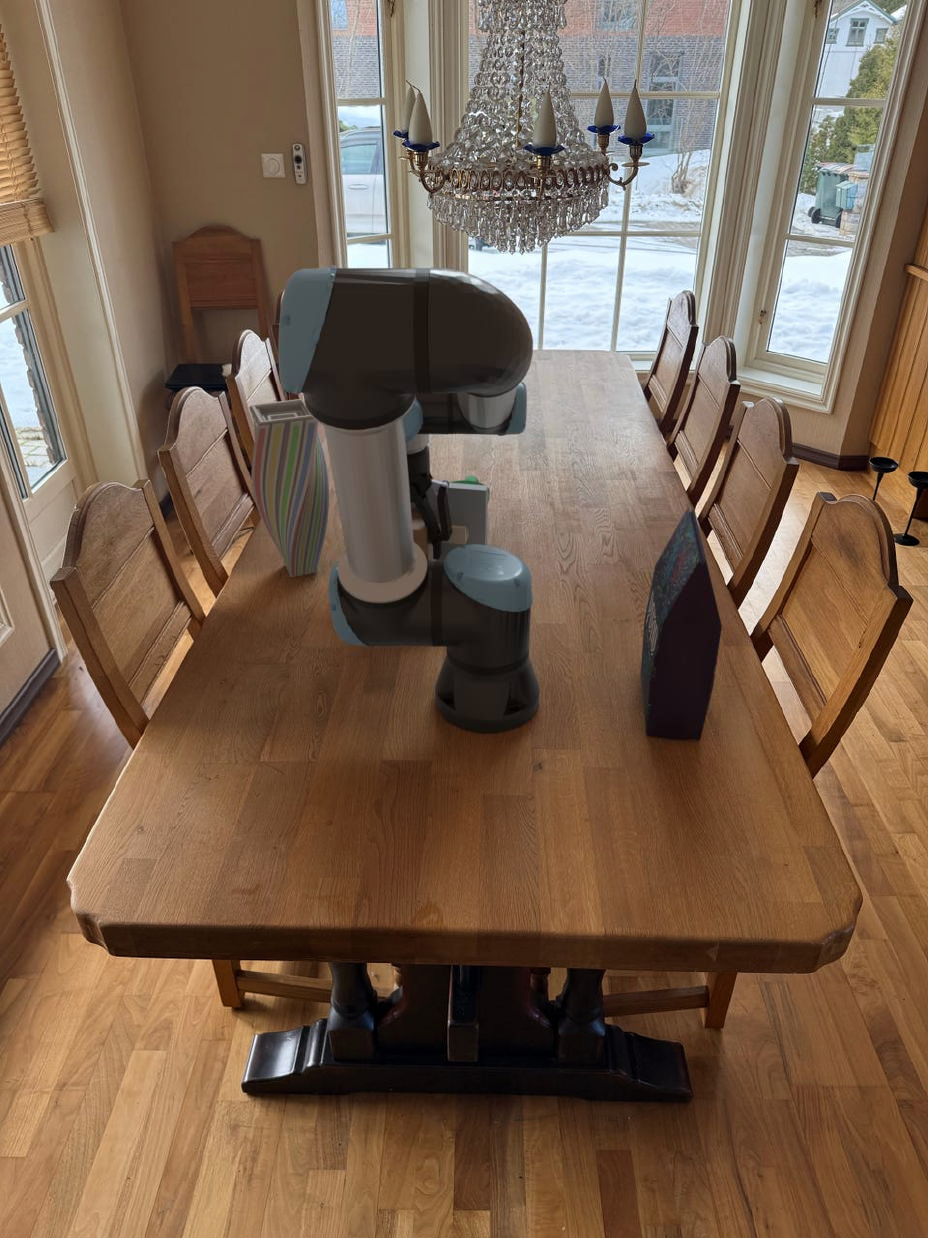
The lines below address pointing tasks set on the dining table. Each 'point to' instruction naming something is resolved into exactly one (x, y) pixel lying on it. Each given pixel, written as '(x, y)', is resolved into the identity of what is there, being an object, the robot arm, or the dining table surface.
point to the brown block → (420, 531)
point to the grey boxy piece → (463, 515)
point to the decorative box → (680, 638)
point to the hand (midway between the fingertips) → (410, 571)
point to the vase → (291, 482)
